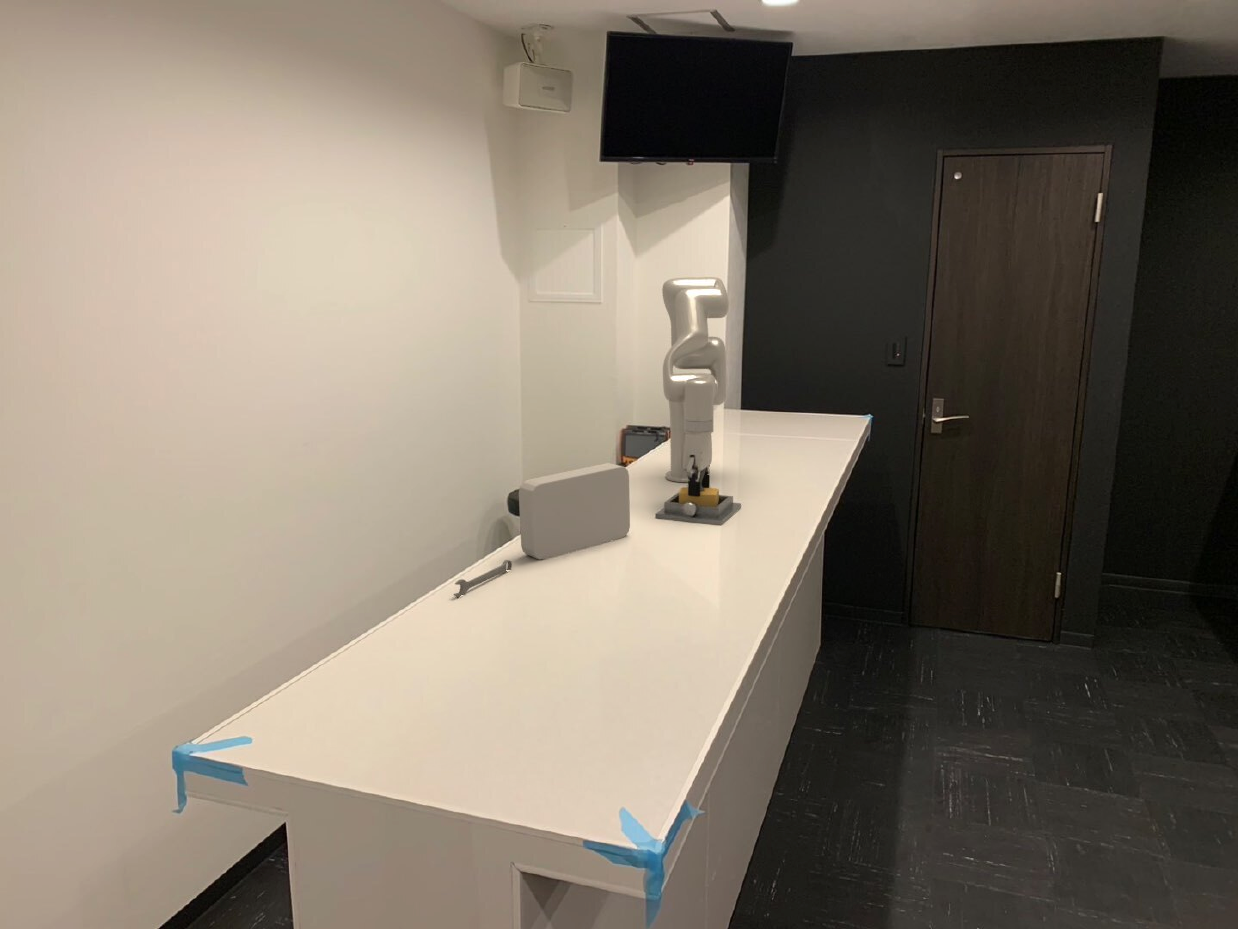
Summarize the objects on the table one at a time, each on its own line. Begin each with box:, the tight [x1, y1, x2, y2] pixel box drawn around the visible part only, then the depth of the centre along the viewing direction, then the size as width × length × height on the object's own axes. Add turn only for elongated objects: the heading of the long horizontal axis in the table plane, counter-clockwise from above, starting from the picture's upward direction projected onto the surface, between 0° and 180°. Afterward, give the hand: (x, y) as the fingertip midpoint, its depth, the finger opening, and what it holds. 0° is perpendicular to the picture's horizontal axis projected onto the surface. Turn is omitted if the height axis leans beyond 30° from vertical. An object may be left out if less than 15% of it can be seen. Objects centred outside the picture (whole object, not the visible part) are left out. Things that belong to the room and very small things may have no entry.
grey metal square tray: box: [655, 492, 742, 526], centre depth 248 cm, size 17×18×5 cm
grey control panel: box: [518, 462, 631, 560], centre depth 223 cm, size 29×8×18 cm, turn 129°
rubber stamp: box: [678, 468, 720, 507], centre depth 247 cm, size 10×6×12 cm, turn 78°
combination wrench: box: [453, 559, 513, 598], centre depth 200 cm, size 4×1×20 cm
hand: (698, 491), depth 248 cm, fingers closed on rubber stamp, 6 cm apart
